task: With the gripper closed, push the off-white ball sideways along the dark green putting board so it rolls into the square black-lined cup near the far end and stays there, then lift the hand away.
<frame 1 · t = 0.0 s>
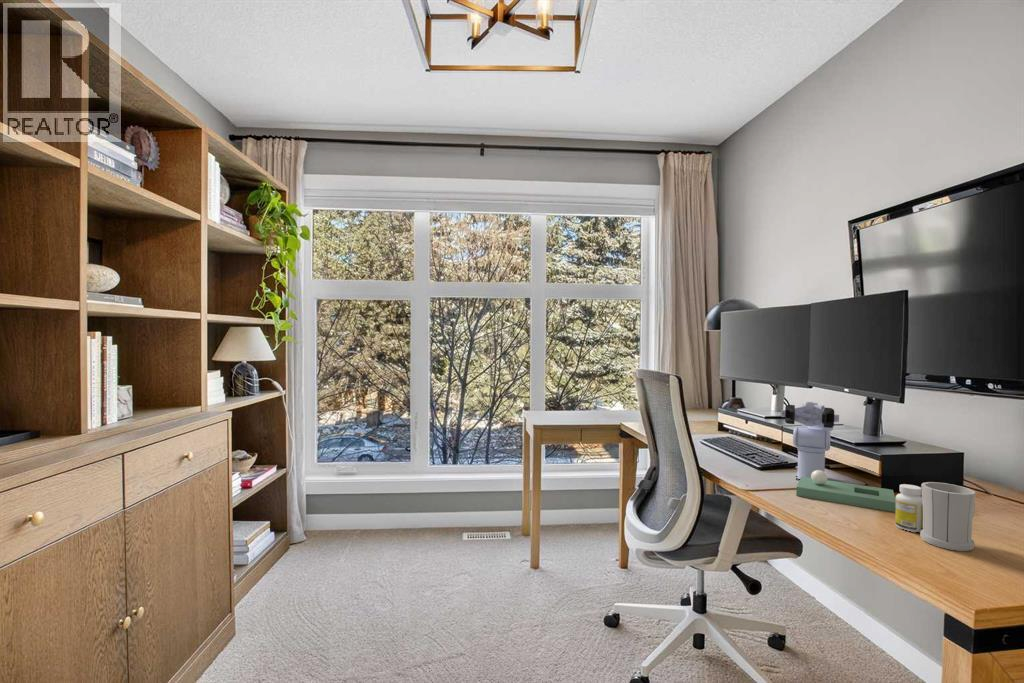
hand: (807, 416, 141), 22 cm above the table, tool horizontal, fingers open, 7 cm apart
supplement bottle: (909, 529, 117), on the table
putting board: (844, 497, 139), on the table
cup: (947, 543, 109), on the table
ball: (819, 477, 143), point 4 cm above the table, touching putting board
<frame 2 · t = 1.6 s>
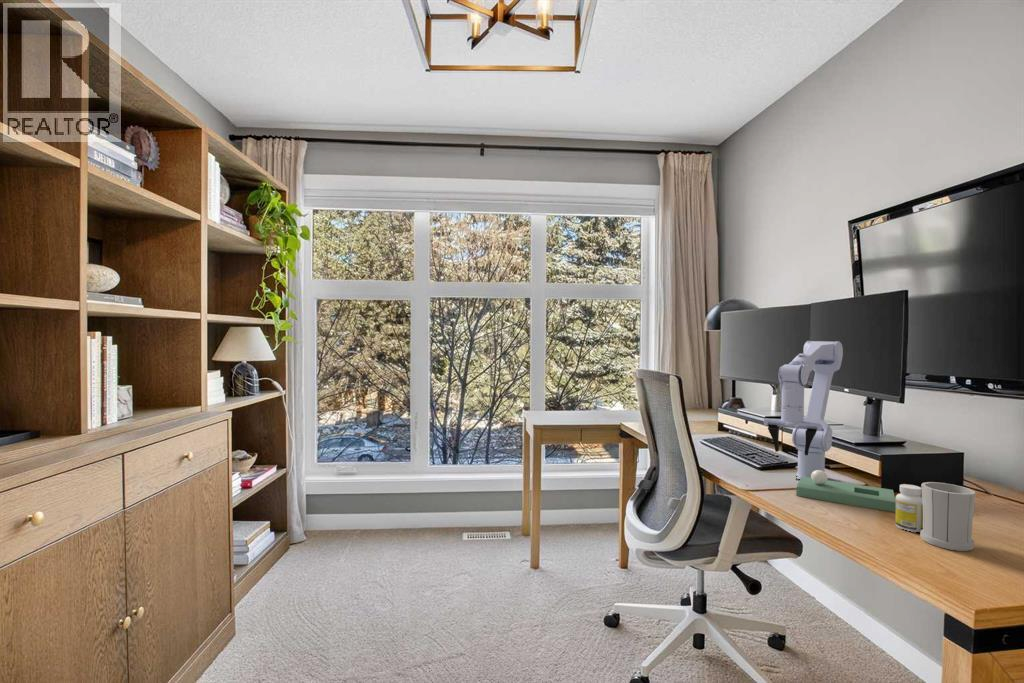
hand: (791, 452, 147), 10 cm above the table, tool pointing down, fingers open, 7 cm apart
nothing on the table moved.
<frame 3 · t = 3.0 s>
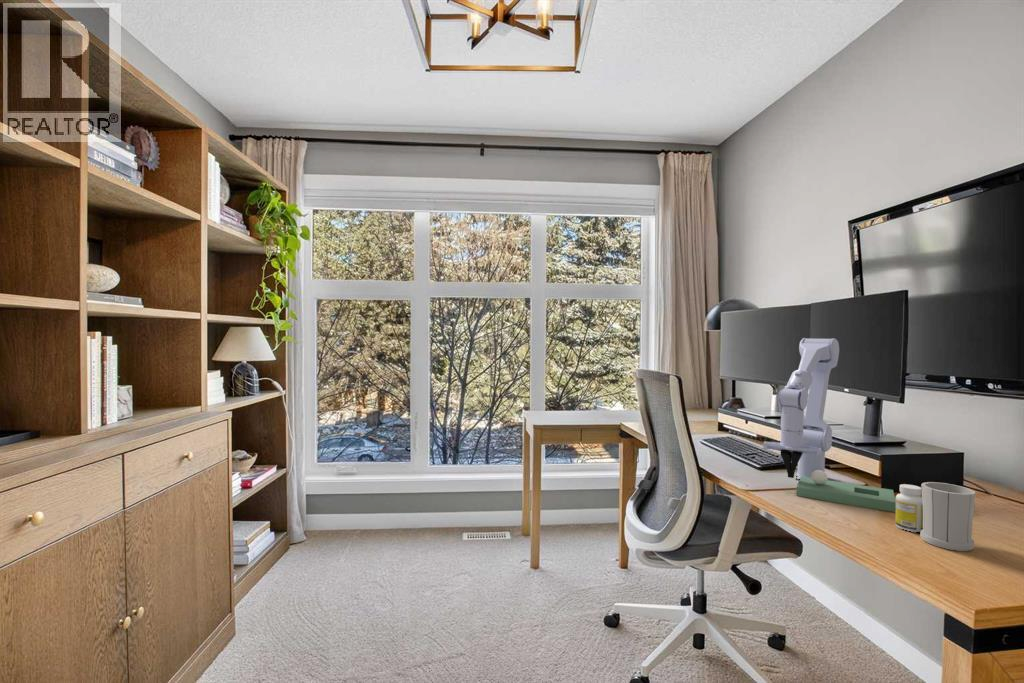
hand: (790, 476, 147), 3 cm above the table, tool pointing down, fingers closed
nothing on the table moved.
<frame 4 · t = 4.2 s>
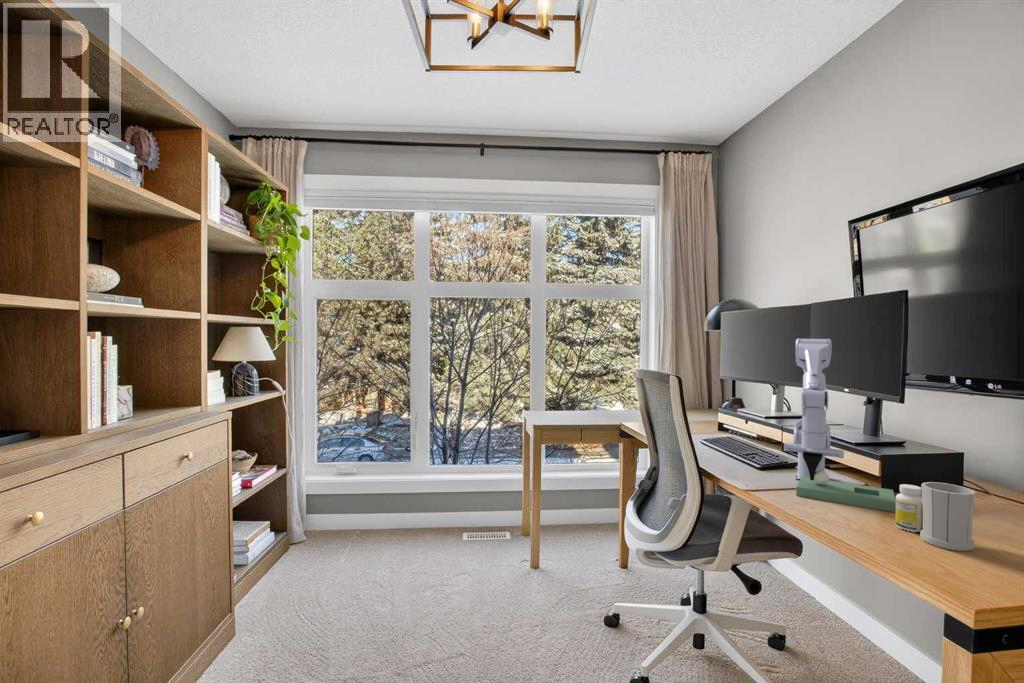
hand: (812, 479, 144), 4 cm above the table, tool pointing down, fingers closed, pressing on ball
ball: (821, 477, 142), point 4 cm above the table, tilted 13°, touching gripper, putting board
everything else where it was.
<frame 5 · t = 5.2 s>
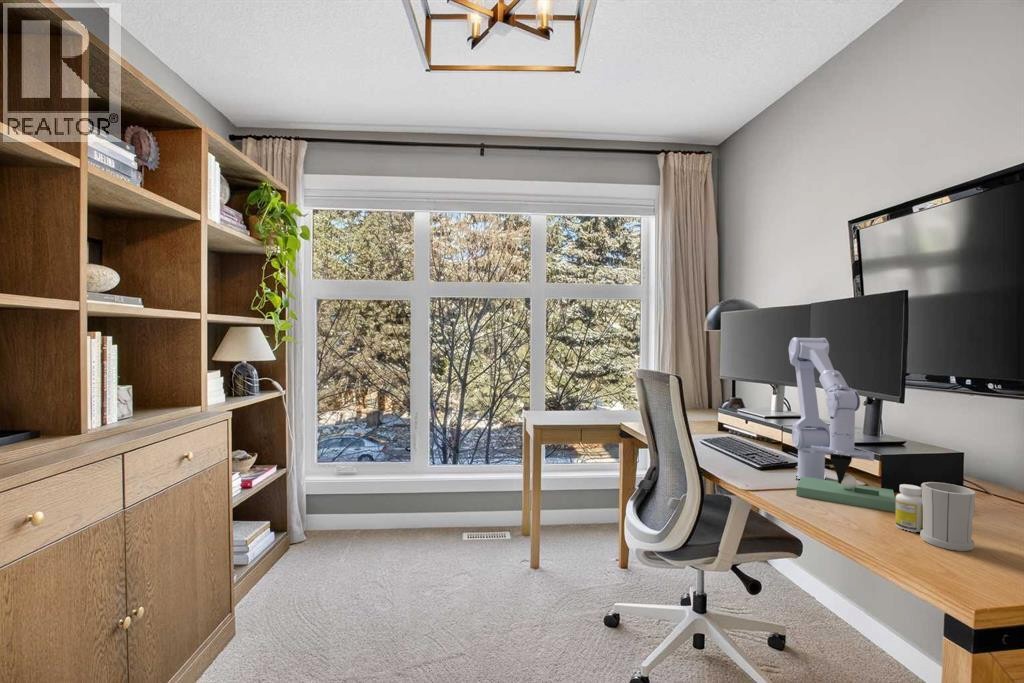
hand: (841, 483, 139), 4 cm above the table, tool pointing down, fingers closed, pressing on ball
ball: (847, 481, 139), point 4 cm above the table, tilted 161°, touching gripper, putting board
everything else where it was.
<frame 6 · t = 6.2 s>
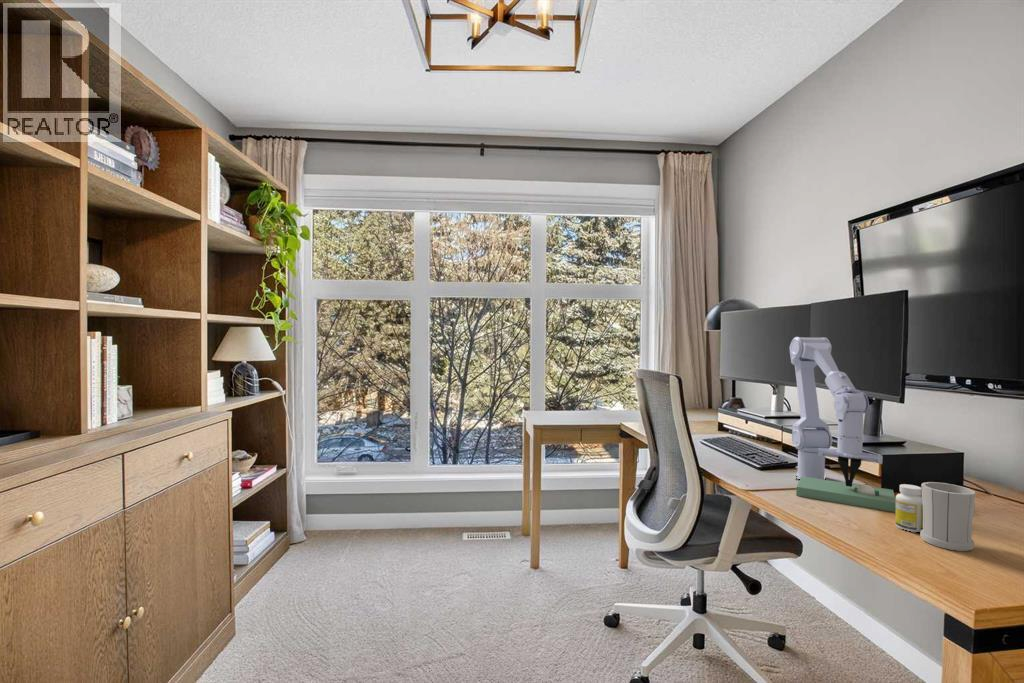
hand: (848, 485, 139), 3 cm above the table, tool pointing down, fingers closed
ball: (865, 492, 137), point 2 cm above the table, tilted 80°, touching putting board
everything else where it was.
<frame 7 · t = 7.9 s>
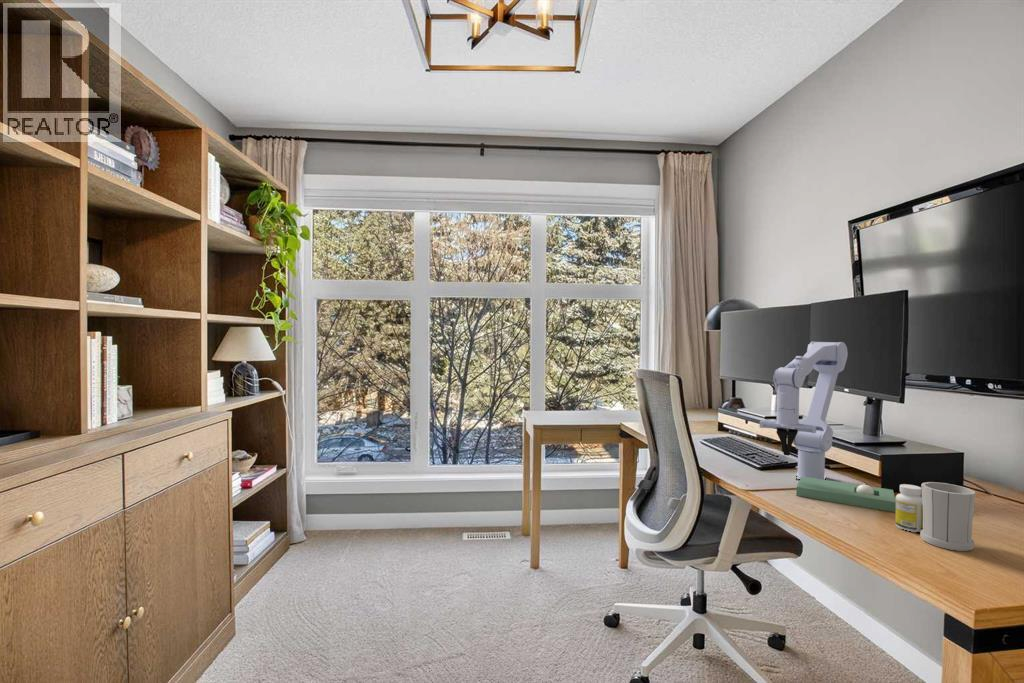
hand: (786, 454, 149), 9 cm above the table, tool pointing down, fingers closed
ball: (865, 492, 137), point 2 cm above the table, tilted 86°, touching putting board
everything else where it was.
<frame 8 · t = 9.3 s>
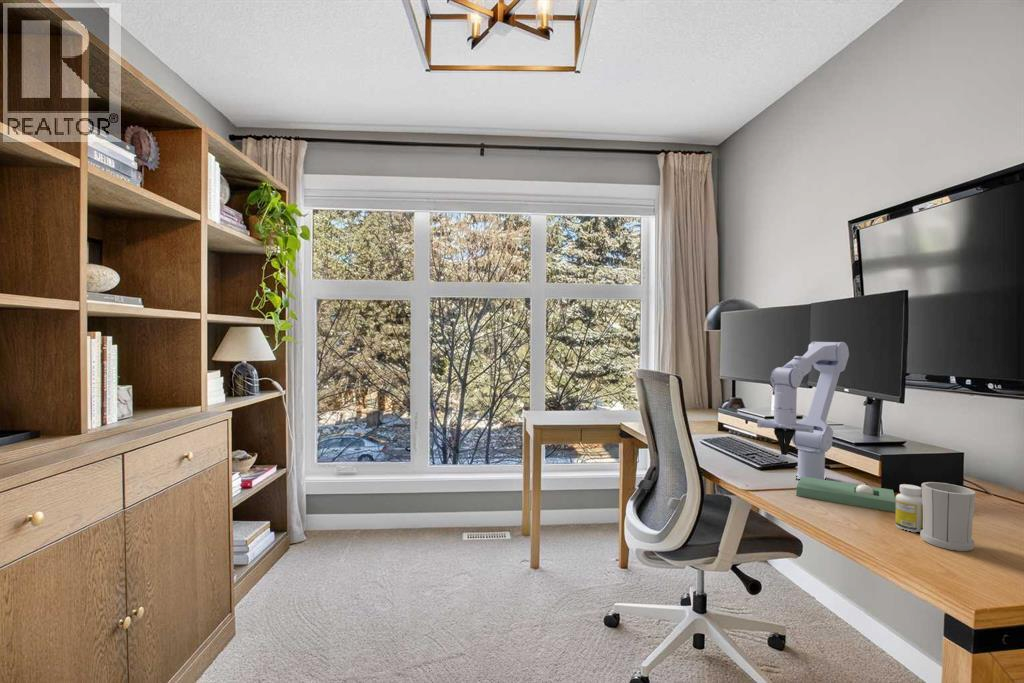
hand: (784, 454, 149), 9 cm above the table, tool pointing down, fingers closed
nothing on the table moved.
at the end: ball 0.6 cm from the target spot on the putting board, point 2.2 cm above the putting board's base; the gripper is holding nothing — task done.
